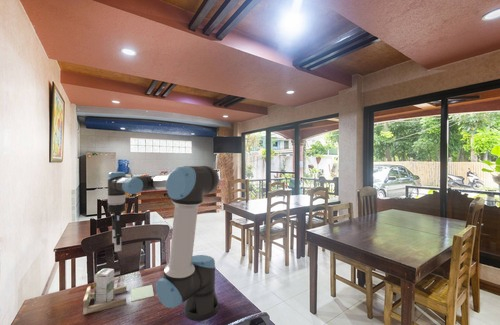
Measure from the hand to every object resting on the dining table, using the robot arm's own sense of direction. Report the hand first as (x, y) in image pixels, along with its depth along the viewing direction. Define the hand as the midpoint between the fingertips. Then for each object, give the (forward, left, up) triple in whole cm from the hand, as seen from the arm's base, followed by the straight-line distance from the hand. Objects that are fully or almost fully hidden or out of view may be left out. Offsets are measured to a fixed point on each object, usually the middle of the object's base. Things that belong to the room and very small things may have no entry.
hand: (116, 246), depth 114 cm
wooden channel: (-5, +4, -24) cm, 24 cm away
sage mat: (-5, -11, -24) cm, 27 cm away
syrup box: (-5, +5, -24) cm, 25 cm away
